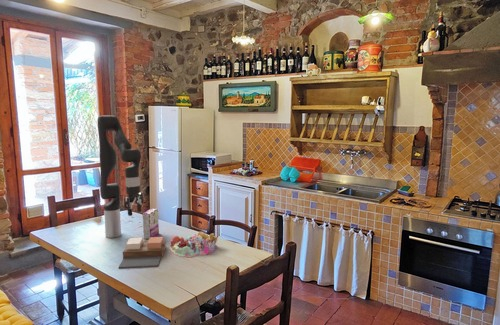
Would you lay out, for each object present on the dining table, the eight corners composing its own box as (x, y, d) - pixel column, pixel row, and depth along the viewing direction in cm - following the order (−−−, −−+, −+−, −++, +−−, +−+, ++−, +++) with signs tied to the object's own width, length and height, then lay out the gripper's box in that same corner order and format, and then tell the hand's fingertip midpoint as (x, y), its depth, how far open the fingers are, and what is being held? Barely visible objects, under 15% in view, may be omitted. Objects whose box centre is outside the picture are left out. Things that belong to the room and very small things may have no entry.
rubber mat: (124, 259, 177) (123, 257, 177) (160, 257, 179) (160, 256, 179) (118, 268, 166) (118, 267, 166) (157, 266, 168) (157, 265, 168)
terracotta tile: (150, 242, 190) (150, 237, 190) (162, 241, 191) (162, 236, 191) (147, 248, 181) (147, 243, 181) (160, 247, 182) (160, 242, 182)
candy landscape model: (195, 238, 208) (195, 224, 207) (224, 247, 195) (224, 231, 194) (163, 251, 188) (163, 235, 187) (194, 262, 175) (193, 245, 173)
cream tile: (130, 243, 189) (129, 238, 188) (142, 242, 190) (142, 237, 189) (126, 249, 180) (126, 244, 180) (139, 248, 181) (139, 243, 180)
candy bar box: (152, 232, 217) (151, 208, 215) (159, 233, 216) (158, 208, 214) (143, 239, 207) (142, 213, 204) (150, 239, 206) (149, 213, 203)
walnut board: (129, 248, 192) (129, 241, 191) (165, 246, 194) (165, 240, 194) (123, 259, 177) (122, 252, 176) (161, 257, 179) (161, 250, 179)
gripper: (134, 182, 194) (136, 210, 196) (118, 187, 181) (121, 216, 182) (146, 183, 192) (147, 210, 194) (131, 187, 179) (133, 217, 180)
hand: (134, 213), depth 188 cm, fingers open, 8 cm apart
